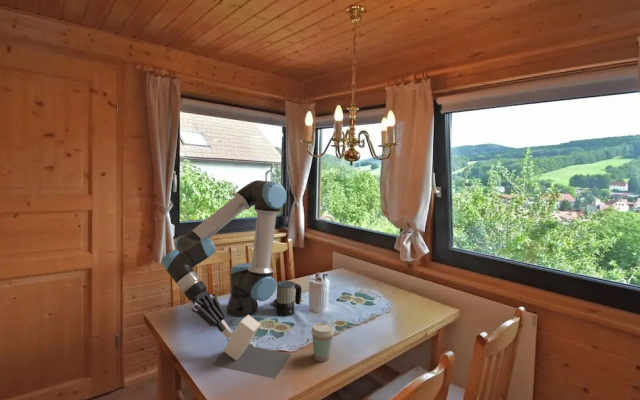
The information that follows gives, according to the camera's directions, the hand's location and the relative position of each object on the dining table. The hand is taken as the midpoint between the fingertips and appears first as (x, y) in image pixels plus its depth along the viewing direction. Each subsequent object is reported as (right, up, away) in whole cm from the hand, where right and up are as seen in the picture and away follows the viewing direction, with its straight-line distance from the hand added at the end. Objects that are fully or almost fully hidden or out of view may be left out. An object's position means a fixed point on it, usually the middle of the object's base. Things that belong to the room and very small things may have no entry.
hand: (230, 336), depth 125 cm
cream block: (+1, -6, +1) cm, 6 cm away
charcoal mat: (+8, -8, -1) cm, 12 cm away
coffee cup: (+34, -9, +3) cm, 35 cm away
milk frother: (+14, -5, +45) cm, 47 cm away
